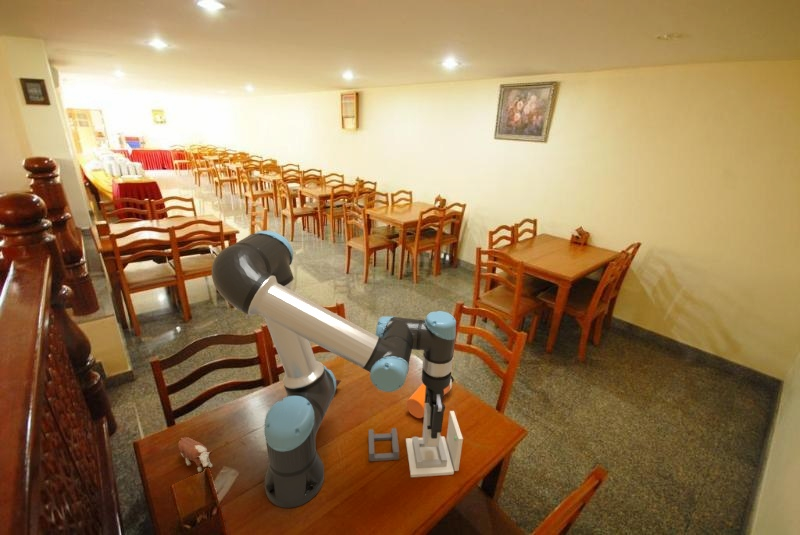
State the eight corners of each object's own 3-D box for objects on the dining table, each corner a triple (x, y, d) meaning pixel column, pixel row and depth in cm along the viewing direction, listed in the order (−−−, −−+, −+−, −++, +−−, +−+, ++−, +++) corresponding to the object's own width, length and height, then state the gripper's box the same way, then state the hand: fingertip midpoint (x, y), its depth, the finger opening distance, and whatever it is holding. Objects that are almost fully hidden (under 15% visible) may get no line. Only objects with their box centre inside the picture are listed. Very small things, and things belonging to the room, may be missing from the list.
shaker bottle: (429, 405, 110) (457, 372, 125) (405, 391, 114) (436, 361, 129) (424, 426, 113) (453, 391, 129) (402, 411, 118) (432, 379, 133)
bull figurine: (206, 484, 92) (200, 462, 89) (178, 459, 98) (172, 437, 95) (221, 471, 95) (217, 449, 92) (193, 448, 102) (188, 427, 99)
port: (410, 477, 96) (413, 444, 91) (405, 441, 107) (407, 410, 103) (459, 474, 97) (463, 441, 93) (449, 438, 108) (453, 408, 104)
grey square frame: (369, 461, 100) (369, 453, 99) (368, 436, 108) (368, 429, 107) (398, 459, 101) (399, 451, 100) (396, 435, 109) (396, 428, 108)
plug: (424, 447, 98) (428, 408, 93) (422, 435, 101) (425, 397, 96) (438, 446, 98) (442, 407, 93) (436, 434, 102) (439, 396, 97)
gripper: (459, 391, 83) (450, 462, 92) (443, 349, 99) (437, 413, 108) (428, 392, 82) (422, 464, 91) (417, 349, 98) (413, 414, 107)
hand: (430, 436), depth 99 cm, fingers closed on plug, 4 cm apart
